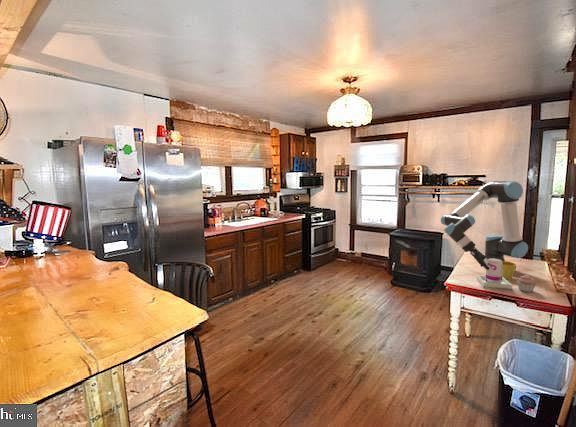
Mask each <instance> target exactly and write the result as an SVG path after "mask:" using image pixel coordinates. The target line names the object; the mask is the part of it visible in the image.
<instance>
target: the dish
mask: <svg viewBox="0 0 576 427" xmlns="http://www.w3.org/2000/svg"><path fill="white" fill-rule="evenodd" d="M485 280H486V275H476V281H477V282H478V283H479V284H480V286H482V288H485V289H486V288H487V289H495V290H508V291H512V290H513V284H511V282H510V281H508V279H505V278H504V277H502V282H501V284H497V283H487V282H486V281H485Z"/></svg>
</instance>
